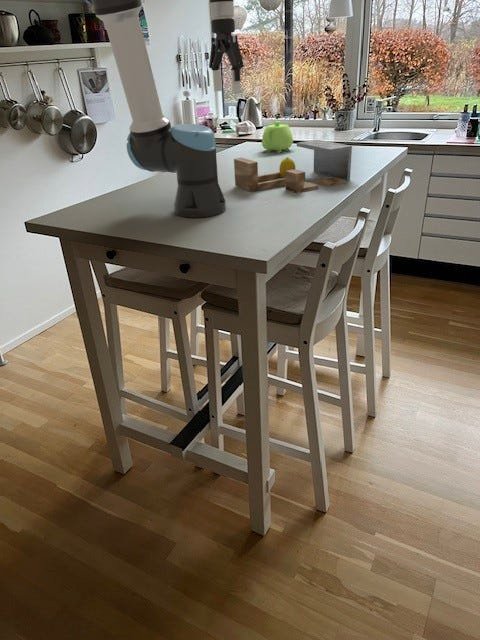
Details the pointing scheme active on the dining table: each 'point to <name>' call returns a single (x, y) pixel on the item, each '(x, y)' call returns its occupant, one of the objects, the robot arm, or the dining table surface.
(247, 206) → the dining table surface
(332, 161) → the shelf
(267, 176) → the wooden frame
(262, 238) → the dining table surface
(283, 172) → the lemon
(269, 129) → the green round lobed piece
